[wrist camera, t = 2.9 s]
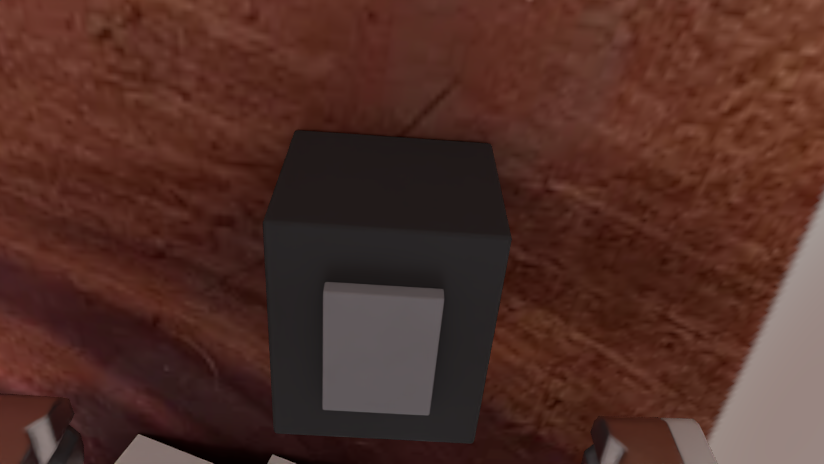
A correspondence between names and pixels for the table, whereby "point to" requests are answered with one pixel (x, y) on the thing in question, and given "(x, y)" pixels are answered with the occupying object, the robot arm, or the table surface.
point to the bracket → (166, 454)
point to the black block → (383, 285)
